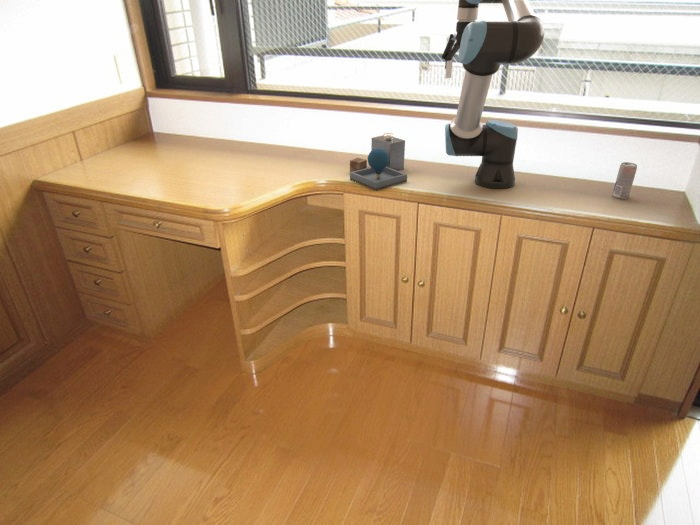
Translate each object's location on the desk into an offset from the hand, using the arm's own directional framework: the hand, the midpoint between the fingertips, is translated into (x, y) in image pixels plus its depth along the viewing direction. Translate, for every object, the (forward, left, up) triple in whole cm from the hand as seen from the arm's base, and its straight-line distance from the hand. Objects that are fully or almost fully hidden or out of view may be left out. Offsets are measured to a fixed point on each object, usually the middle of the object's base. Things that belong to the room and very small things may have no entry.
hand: (461, 80), depth 196 cm
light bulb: (+4, +39, -34) cm, 52 cm away
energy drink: (-64, -18, -35) cm, 75 cm away
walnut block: (+18, +38, -35) cm, 55 cm away
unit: (+15, +25, -35) cm, 45 cm away
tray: (+4, +39, -35) cm, 52 cm away
